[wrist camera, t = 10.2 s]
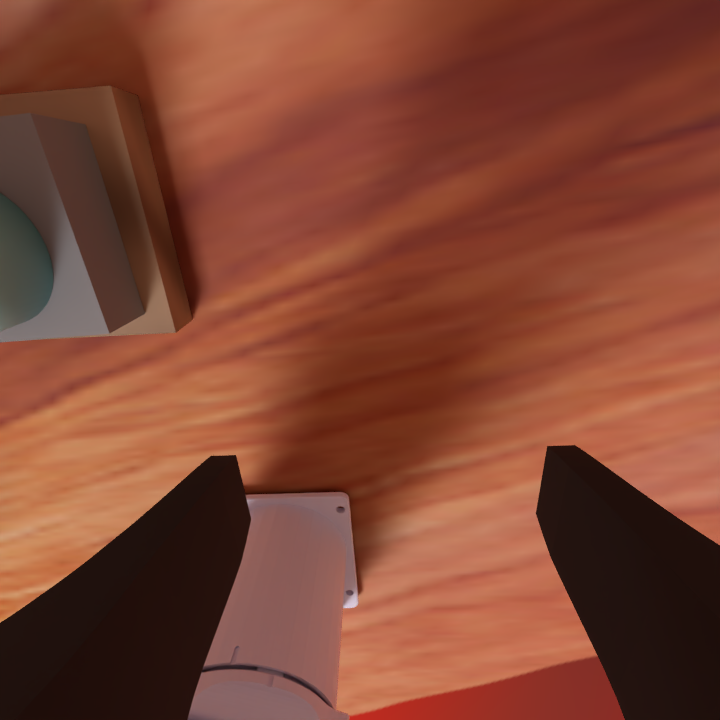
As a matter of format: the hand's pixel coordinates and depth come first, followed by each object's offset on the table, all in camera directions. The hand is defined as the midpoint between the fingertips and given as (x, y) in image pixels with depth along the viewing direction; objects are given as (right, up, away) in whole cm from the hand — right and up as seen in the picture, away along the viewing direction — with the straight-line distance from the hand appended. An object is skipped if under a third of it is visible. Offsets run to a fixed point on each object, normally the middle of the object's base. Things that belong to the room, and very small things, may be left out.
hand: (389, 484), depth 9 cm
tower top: (-14, +8, +6) cm, 17 cm away
